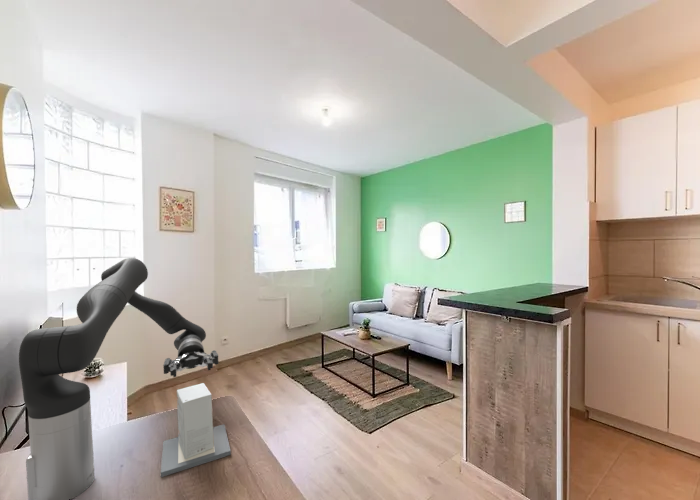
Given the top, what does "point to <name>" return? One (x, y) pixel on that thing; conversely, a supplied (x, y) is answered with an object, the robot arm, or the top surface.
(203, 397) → the small box
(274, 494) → the top surface
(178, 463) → the base board
